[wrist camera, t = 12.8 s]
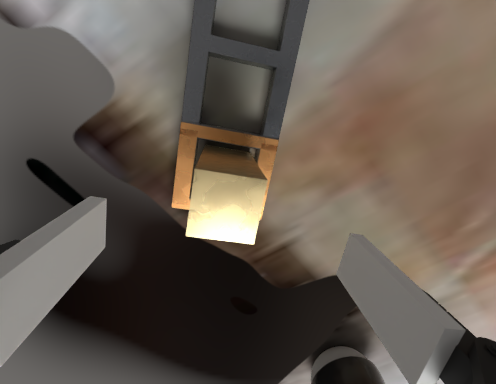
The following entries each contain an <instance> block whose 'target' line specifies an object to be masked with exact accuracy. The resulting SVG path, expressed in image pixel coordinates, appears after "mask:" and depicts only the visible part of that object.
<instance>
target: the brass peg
mask: <svg viewBox="0 0 496 384" xmlns="http://www.w3.org/2000/svg"><path fill="white" fill-rule="evenodd" d="M267 182H268V180H267V178H266V177H265V175H264V174H263V172H262V170H261V169H260V167H259V166H258V164H257V163H256V161H255V160H254V158H253V156H252V155H251V153H250V152H245V151H240V150H234V149H228V148H223V147H217V146H211V145H205V147H204V149H203V151H202V153H201V156H200V158H199V160H198V162H197V165H196V167H195V170H194V177H193V185H192V193H191V200H190V208H189V215H188V223H187V231H186V236H189V237H197V238H205V239H213V240H222V241H230V242H238V243H246V244H254V241H255V237H256V232H257V228H258V223H259V219H260V214H261V210H262V205H263V200H264V196H265V191H266V187H267Z"/></svg>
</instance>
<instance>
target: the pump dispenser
mask: <svg viewBox="0 0 496 384" xmlns="http://www.w3.org/2000/svg"><path fill="white" fill-rule="evenodd" d="M311 384H385V382H384V380H383V378H382V376H381V374H380V372H379V370H378V369H377V367H376V366H375V365H374V364H373V363H372V362H371V361H369V360H368V359H367V358H366V357H365V356H364V355H363V354H361V353H360V352H358V351H357V350H355V349H352V348H349V347H344V346H338V347H333V348H330V349H327V350H326V351H324V352H323V353H321V354H320V355H319V356H318V358H317V359H316V361H315V362H314V365H313V368H312V372H311Z"/></svg>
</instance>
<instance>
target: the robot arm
mask: <svg viewBox="0 0 496 384" xmlns="http://www.w3.org/2000/svg"><path fill="white" fill-rule="evenodd" d="M106 200H107V199H106V198H99V197H92V196H90V197H88V198H87V199H85V200H84V201H82V202H81V203H79V204H78V205H76V206H74V207H73V208H71V209H70V210H68V211H67V212H66V213H64V214H62V215H61V216H59V217H57V218H56V219H54V220H53V221H51V222H50V223H48V224H47V225H45V226H44V227H42V228H41V229H39V230H38V231H36V232H34V233H33V234H31V235H30V236H28V237H27V238H25V239H23V240H22V241H21V240H13V241H11V242H8V243H5V244H2V245H0V367H1V366H2V365H3V364H4V363H5V361H6V360H7V359H8V358H9V357H10V356H11V355H12V353H13V352H14V351H15V350H16V349H17V348H18V347H19V346H20V344H21V343H22V342H23V341H24V340H25V339H26V337H27V336H28V335H29V334H30V333H31V332H32V331H33V329H34V328H35V327H36V326H37V325H38V324H39V322H40V321H41V320H42V319H43V318H44V317H45V316H46V314H47V313H48V312H49V311H50V310H51V309H52V307H53V306H54V305H55V304H56V303H57V302H58V301H59V300H60V298H61V297H62V296H63V295H64V294H65V293H66V291H67V290H68V289H69V288H70V287H71V286H72V285H73V283H74V282H75V281H76V280H77V279H78V278H79V277H80V275H81V274H82V273H83V272H84V271H85V270H86V269H87V267H88V266H89V265H90V264H91V263H92V261H93V260H94V259H95V258H96V257H97V256H98V255H99V253H100V252H101V251H102V250H103V249H104V248H105V235H106ZM336 275H337V276H338V278H339V279H340V281H341V282H342V284H343V285H344V286H345V288H346V290H347V291H348V293H349V294H350V296H351V297H352V298H353V300H354V302H355V303H356V304H357V306H358V308H359V309H360V311H361V312H362V314H363V315H364V317H365V318H366V320H367V321H368V323H369V324H370V326H371V327H372V329H373V330H374V332H375V333H376V335H377V336H378V338H379V339H380V341H381V342H382V344H383V345H384V347H385V348H386V350H387V351H388V353H389V354H390V356H391V357H392V359H393V360H394V362H395V363H396V365H397V366H398V368H399V369H400V371H401V372H402V374H403V375H404V377H405V378H406V380H407V381H408V383H409V384H436V383H437V382H438V380H439V378H440V379H441V380H442V381H443V382H444V384H496V342H495V341H492V340H490V339H487V338H482V337H478V338H476V337H475V336H474V335H473V334H472V333H471V332H470V331H469V330H468V329H466V328H465V327H464V326H463V325H462V324H461V323H460V322H459V321H458V320H457V319H455V318H454V317H453V316H452V315H451V314H450V313H449V312H446V309H445V308H443V307H442V306H441V305H440V304H438V302H437V301H436V300H435V299H434V298H433V297H431V296H430V295H429V294H428V293H426V292H425V291H423V290H422V289H421V288H419V287H418V286H417V285H416V284H415V283H414V282H413V281H412V280H411V279H410V278H409V277H408V276H406V275H405V274H404V273H403V272H402V271H401V270H400V269H399V268H398V267H397V266H396V265H395V264H394V263H392V262H391V261H390V260H389V259H388V258H387V257H386V256H385V255H384V254H383V253H382V252H381V251H379V250H378V249H377V248H376V247H375V246H374V245H373V244H372V243H371V242H370V241H369V240H368V239H366V238H365V237H364V236H363V235H359V234H352V233H350V235H349V238H348V241H347V244H346V247H345V250H344V253H343V256H342V259H341V262H340V265H339V268H338V271H337V274H336Z"/></svg>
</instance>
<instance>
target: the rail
mask: <svg viewBox="0 0 496 384" xmlns="http://www.w3.org/2000/svg"><path fill="white" fill-rule="evenodd" d="M216 1H217V0H195V3H194V13H193V22H192V31H191V40H190V49H189V58H188V67H187V76H186V85H185V94H184V103H183V112H182V121H181V128H180V137H179V146H178V155H177V164H176V173H175V182H174V192H173V201H172V207H173V208H180V209H187V210H189V208H190V200H191V191H192V184H193V176H194V168H195V161H196V153H197V145H198V138H199V139H205V140H211V141H216V142H222V143H227V144H233V145H239V146H244V147H250V148H255V149H257V153H256V158H255V161H256V163H257V164H258V166H259V167H260V169H261V170H262V172H263V174H264V175H265V177H266V178H267V180H268V182H267V187H266V191H265V196H264V200H263V205H262V210H261V214H260V220H261V218H262V214H263V209H264V205H265V200H266V196H267V191H268V187H269V182H270V178H271V173H272V169H273V164H274V160H275V155H276V151H277V146H278V142H279V135H280V131H281V126H282V122H283V117H284V113H285V108H286V104H287V99H288V95H289V90H290V86H291V81H292V77H293V72H294V67H295V63H296V58H297V54H298V49H299V45H300V40H301V36H302V31H303V27H304V22H305V18H306V13H307V9H308V4H309V0H287V2H286V7H285V12H284V17H283V22H282V27H281V32H280V37H279V42H278V47H277V50H272V49H268V48H264V47H260V46H256V45H252V44H247V43H243V42H239V41H235V40H231V39H227V38H222V37H218V36H214V35H212V31H213V24H214V16H215V8H216ZM209 56H213V57H217V58H221V59H226V60H230V61H235V62H239V63H243V64H248V65H252V66H256V67H261V68H265V69H270V70H273V73H272V78H271V83H270V88H269V93H268V98H267V103H266V108H265V113H264V118H263V123H262V128H261V133H260V134H256V133H251V132H246V131H240V130H235V129H230V128H225V127H219V126H214V125H209V124H203V123H201V115H202V107H203V100H204V92H205V85H206V77H207V69H208V62H209Z"/></svg>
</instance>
